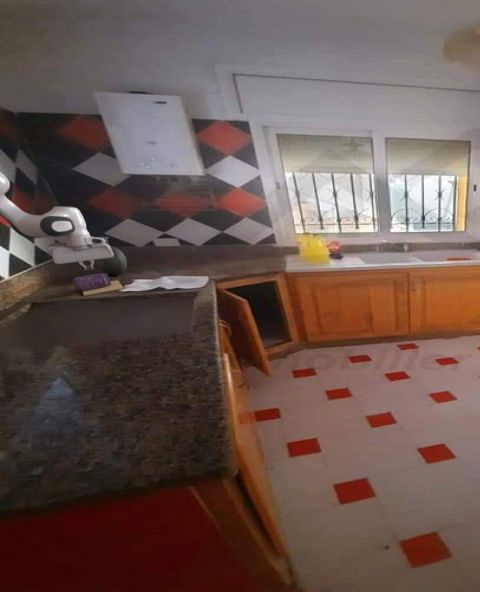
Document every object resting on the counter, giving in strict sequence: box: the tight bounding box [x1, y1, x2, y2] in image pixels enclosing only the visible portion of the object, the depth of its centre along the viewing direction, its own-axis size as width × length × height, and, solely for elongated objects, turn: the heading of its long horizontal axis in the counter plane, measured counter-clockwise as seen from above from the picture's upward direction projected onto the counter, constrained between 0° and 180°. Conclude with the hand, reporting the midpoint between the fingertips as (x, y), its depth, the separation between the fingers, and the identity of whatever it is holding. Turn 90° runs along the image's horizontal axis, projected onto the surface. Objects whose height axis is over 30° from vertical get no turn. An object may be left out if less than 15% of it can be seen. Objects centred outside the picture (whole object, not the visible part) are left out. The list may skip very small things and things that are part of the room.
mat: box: [82, 279, 124, 297], centre depth 159 cm, size 14×20×1 cm
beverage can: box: [72, 272, 111, 293], centre depth 155 cm, size 7×7×12 cm
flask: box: [94, 236, 128, 276], centre depth 178 cm, size 12×17×22 cm
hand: (89, 269), depth 153 cm, fingers closed
